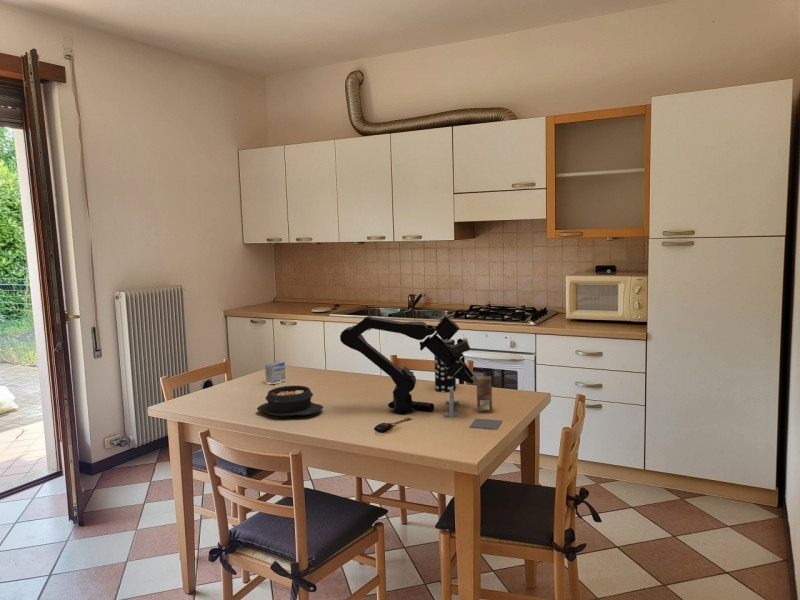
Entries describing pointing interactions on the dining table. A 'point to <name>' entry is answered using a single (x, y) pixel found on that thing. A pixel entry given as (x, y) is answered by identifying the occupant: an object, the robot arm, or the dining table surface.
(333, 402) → the dining table surface
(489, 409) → the walnut block
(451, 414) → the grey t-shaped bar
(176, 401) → the dining table surface
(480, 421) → the mat
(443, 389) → the spotted tube
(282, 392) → the casserole
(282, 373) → the medicine box
